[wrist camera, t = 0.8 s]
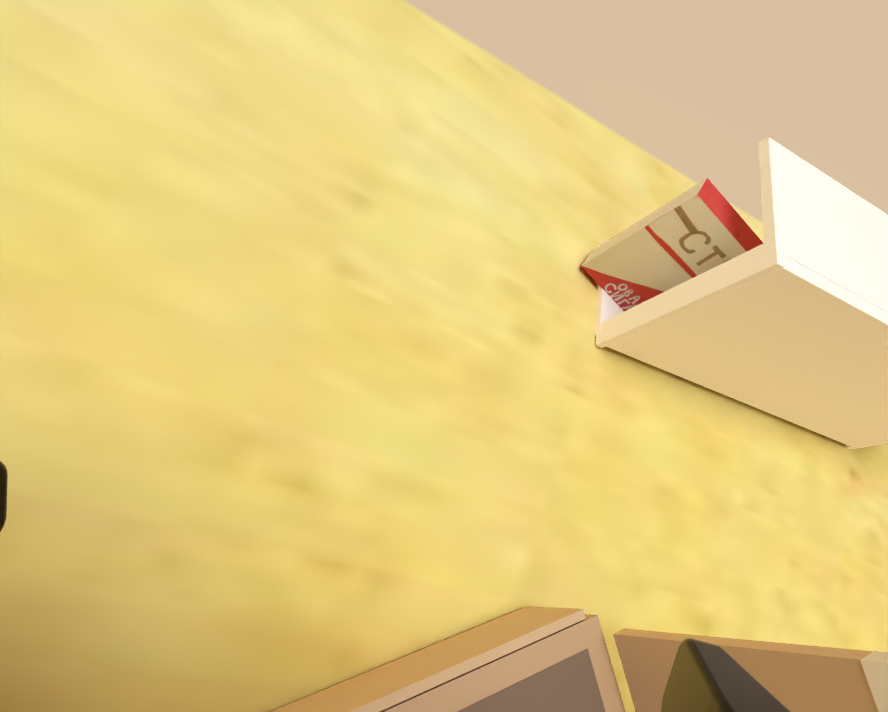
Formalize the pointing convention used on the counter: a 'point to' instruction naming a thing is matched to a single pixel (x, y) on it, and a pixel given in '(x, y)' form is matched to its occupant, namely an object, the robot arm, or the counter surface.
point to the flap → (764, 671)
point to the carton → (490, 671)
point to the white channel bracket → (760, 298)
